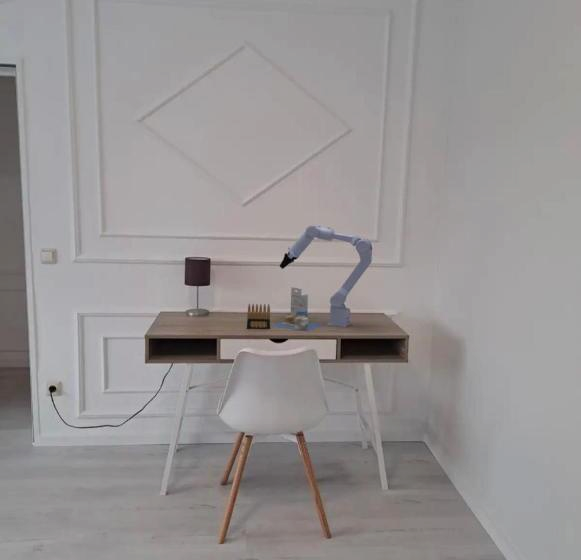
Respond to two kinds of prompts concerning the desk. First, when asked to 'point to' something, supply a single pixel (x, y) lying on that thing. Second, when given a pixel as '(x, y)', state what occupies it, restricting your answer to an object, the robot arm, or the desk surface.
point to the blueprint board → (292, 326)
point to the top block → (301, 323)
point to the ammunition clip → (258, 317)
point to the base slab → (292, 318)
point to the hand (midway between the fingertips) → (282, 266)
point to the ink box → (299, 302)
